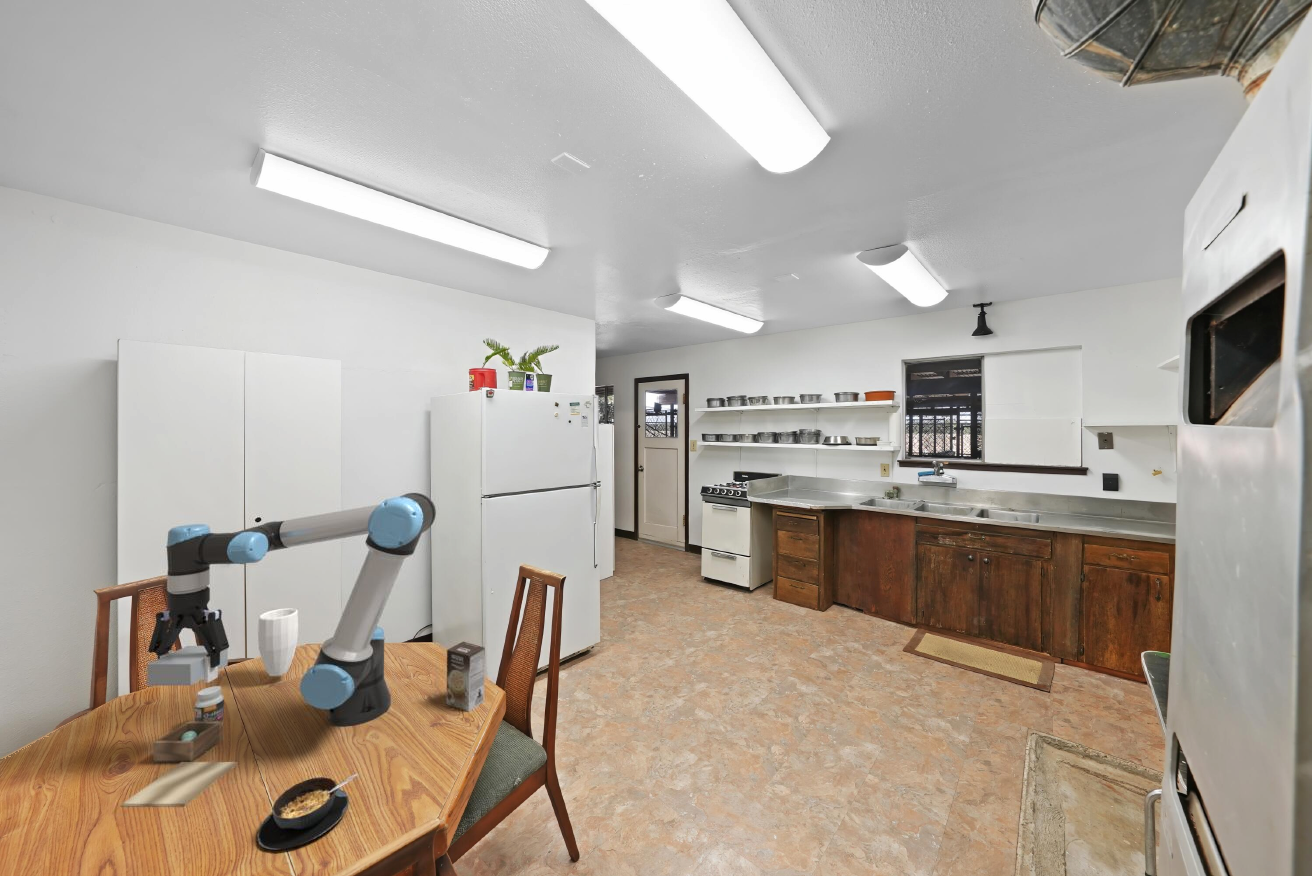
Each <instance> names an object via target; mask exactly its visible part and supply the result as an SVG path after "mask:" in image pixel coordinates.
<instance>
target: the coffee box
mask: <svg viewBox="0 0 1312 876" xmlns="http://www.w3.org/2000/svg"><path fill="white" fill-rule="evenodd" d="M485 652H486V648H485V647H484V646H481V645H477V644H474V643H470V642H468V641H462V642H459V643H457V644H456V645H453V646H452V647H450V648H448V649H446V705H448V706H451V707H454V708H457V709H460V710H461V711H462V710H463V711H466V712H471V711H473V710H474V709H476V708H477V707H478V706H480V705H481V704H483V703H485V673H486V672H485V670H486V669H485V663H486V662H485V661H486V660H485V656H486V653H485Z"/></svg>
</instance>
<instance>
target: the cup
mask: <svg viewBox="0 0 1312 876" xmlns="http://www.w3.org/2000/svg"><path fill="white" fill-rule="evenodd" d="M257 630H258V631H257V636H258V638H257V639H258V640H257V641H258V650H259V654H260V655H259V656H260V658H261V661H262V664H263V667H264V668H265V670H266V672H267V674H268V675H269V676H270V677H277V676H281V675H285V674H286V673H288V671H289V670H290V667H291V665H292V662H293V660H294V656H295V651H296V647H297V644H298V641H299V640H298V639H299V638H298V637H299V611H298V609H296V608H292V607H288V608H278V609H274V610H269V611H266V612H264V613H262V614H261V615H259V617H258V628H257Z"/></svg>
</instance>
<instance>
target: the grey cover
mask: <svg viewBox="0 0 1312 876" xmlns="http://www.w3.org/2000/svg"><path fill="white" fill-rule="evenodd" d="M213 649H214V647H213ZM228 654H229V652H228V648H227V649H225V650H223V651H221V652H220V665H218V671H219V670H222V669H223V668H225V667H227V666H229V665H228ZM206 655H208V653H207V651H206V649H205V647H204V646H203V645H186V646H184V647H182V648H180V649H178V650H176V651H174V652H173V653H171V654H169V655H167V656H165V657H162V658H160V659H158V658H157V659H156V660H153V661H152V662H150V663H148V664H147V665H146V666H147V668H146V669H147V673H146V674H147V675H146V676H147V683H146V684H147V687H149V686H151V687H152V686H157V687H158V686H163V687H164V686H166V687H167V686H183V687H184V686H185V687H187V686H193V685H194V684H196V683H198V682H200V681H203V680H204V679H205V656H206Z"/></svg>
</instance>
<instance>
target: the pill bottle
mask: <svg viewBox="0 0 1312 876" xmlns="http://www.w3.org/2000/svg"><path fill="white" fill-rule="evenodd" d="M196 695H197V699H198V700H197V701H196V702H195V704H194V721H221V722H222V725H223V724H224V720H225V719H224V718H225V696H224V695H223V694H222V686H219V685H217V686H216V685H214V686H209V687H207V688H203V689H201V690H199V691H198V692H197V694H196Z"/></svg>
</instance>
